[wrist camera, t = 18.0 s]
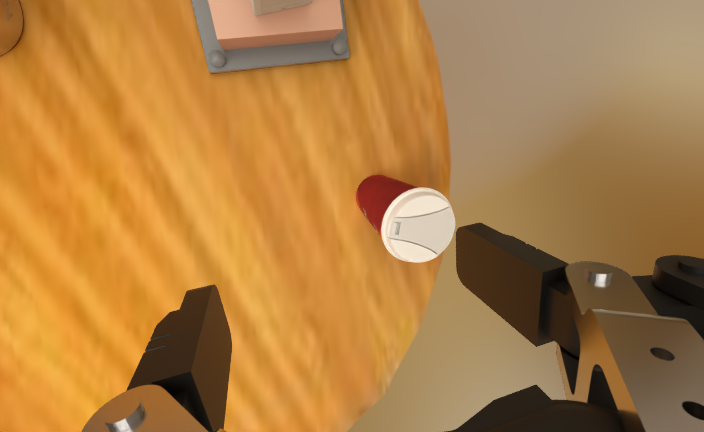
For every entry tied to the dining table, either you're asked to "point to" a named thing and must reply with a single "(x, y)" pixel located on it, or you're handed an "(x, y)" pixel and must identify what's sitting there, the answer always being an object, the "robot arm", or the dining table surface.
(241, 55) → the tower base
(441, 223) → the coffee cup
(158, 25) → the dining table surface
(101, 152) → the dining table surface
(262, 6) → the small box
